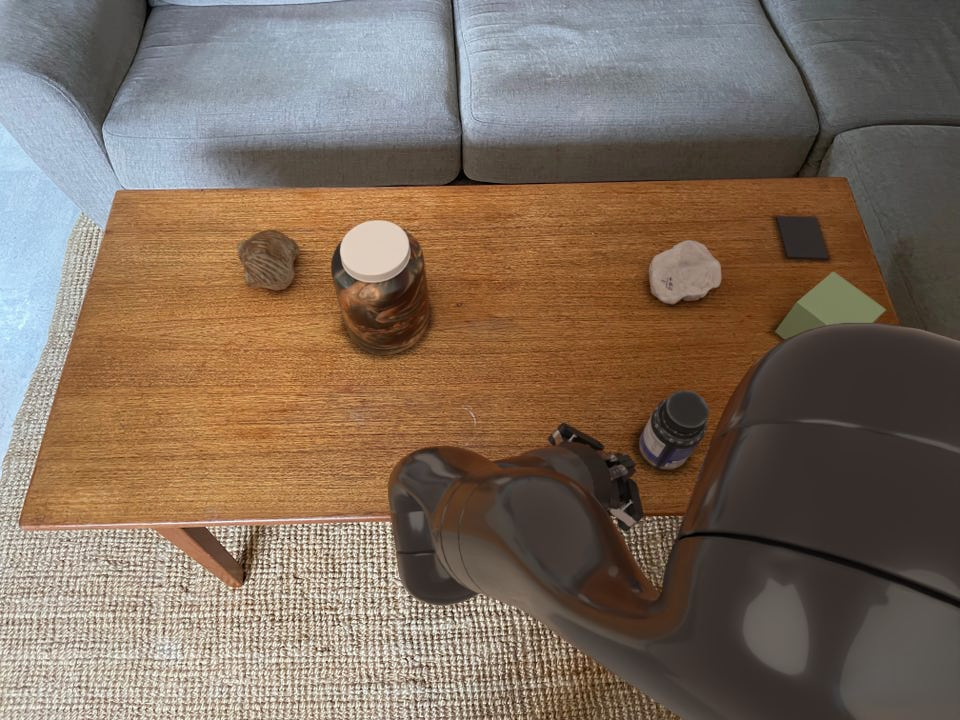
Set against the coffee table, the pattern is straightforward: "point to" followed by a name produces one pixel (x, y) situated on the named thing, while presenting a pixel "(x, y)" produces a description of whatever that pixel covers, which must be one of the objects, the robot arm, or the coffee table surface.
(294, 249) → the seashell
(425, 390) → the coffee table surface
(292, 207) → the coffee table surface
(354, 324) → the jar
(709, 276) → the fossil
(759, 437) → the robot arm
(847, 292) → the green block
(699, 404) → the pill bottle
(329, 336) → the coffee table surface
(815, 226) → the rubber mat
